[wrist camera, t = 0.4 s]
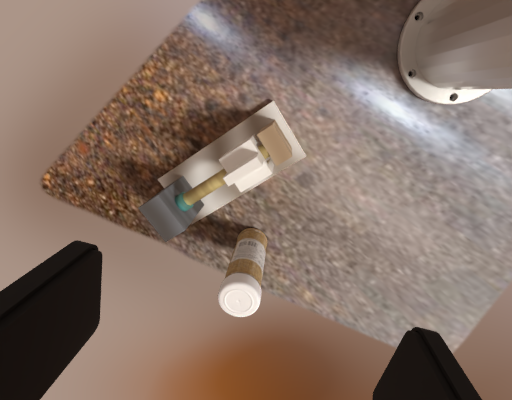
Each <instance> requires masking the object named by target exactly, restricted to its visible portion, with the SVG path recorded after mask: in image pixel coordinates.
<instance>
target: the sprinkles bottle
mask: <svg viewBox="0 0 512 400" xmlns="http://www.w3.org/2000/svg"><path fill="white" fill-rule="evenodd" d="M266 246H267V238H266V236H265V235H264V233H263V232H261V231H260V230H258V229H255V228H248V229H245V230H243V231H242V232H241V233H240V234H239V235H238V238H237V243H236V246H235V248H234V250H233V253H232V256H231V259H230V264H229V267H228V270H227V273H226V277H225V279H224V280H223V282H222V284H221V287H220V290H219V293H218V301H219V304H220V306H221V308H222V309H223V310H224V311H225V312H227V313H228V314H230V315H232V316H236V317H246V316H249V315H251V314H253V313H254V312H255V311H256V310H257V309H258V307H259V305H260V300H261V280H262V276H263V268H264V261H265V250H266Z"/></svg>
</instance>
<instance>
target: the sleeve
mask: <svg viewBox="0 0 512 400" xmlns="http://www.w3.org/2000/svg"><path fill="white" fill-rule="evenodd" d="M258 141H259V140H258V139H257V137H256V136H255V134H254V135H252V136H251V137H249V138H248V139H246V140H245V141H243V142H242V143H240V144H238V145H237V146H235V147H234V148H232V149H231V150H229V151H228V152H226V153H225V154H224V155H223V156H222V157H221V158H220V159H219V161H220V163H221V164H222V166H223V167H224V169H225V170H226V172H227V173H226V175H225V176H224V177H223V179H224V181H225V182H226V184H227V185H228V187H229V186H230V185H232V184H233V183H235V185H236V186H237V188H238V189H239V191H240V192H243V191H244V190H246V189H248V188H249V187H251V186H253V185H254V184H256V183H258V182H259V181H261V180H263V179H264V178H266V177H268V176H269V175H271V174H272V173H273V168H274V164H273V163H272V161H271V159H268V160H267V161H266V160H265V158H264V157H263V155H262V154H261V152H260V151H259V149H258V147H257V146H256V144H257V143H258Z"/></svg>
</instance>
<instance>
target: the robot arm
mask: <svg viewBox="0 0 512 400" xmlns="http://www.w3.org/2000/svg"><path fill="white" fill-rule="evenodd" d="M415 16H417V17H418V20H417V21H416V20H415ZM398 65H399V71H400V73H401V76H402V78H403V81H404V82H405V84H406V85H407V87H408V88H409V89H410V90H411V91H412V92H413V93H414V94H415V95H416V96H418V97H420V98H421V99H423V100H425V101H428V102H431V103H435V104H443V105H455V104H460V103H466V102H469V101H471V100H474V99H477V98H479V97H481V96H483V95H484V94H486V93H488V92H490V91H491V90H492V89H512V0H420V1H419V2H418V4H417V5H416V6H415V8H414V9H413V10H412V11H411V13H410V15H409V17H408V18H407V20H406V22H405V24H404V26H403V29H402V32H401V35H400V39H399V44H398ZM408 72H411V76H408ZM450 95H451V96H452V97H451V99H450V98H449V97H450ZM101 275H102V253H101V252H100V251H98V247H97V246H96V245H93V244H89V243H86V242H81V241H74V242H72V243H70V244H69V245H67V246H66V247H64V248H63V249H62V250H60V251H59V252H57V253H56V254H54V255H53V256H51V257H50V258H48V259H47V260H46V261H44V262H43V263H41V264H40V265H38V266H37V267H35V268H34V269H32V270H31V271H29V272H28V273H27V274H25V275H24V276H22V277H21V278H19V279H18V280H16V281H15V282H13V283H12V284H10V285H9V286H8V287H6V288H5V289H3V290H2V291H0V400H40V399H41V398H42V396H43V395H44V394H45V393H46V391H47V390H48V389H49V387H50V386H51V385H52V384H53V383H54V382H55V380H56V379H57V378H58V377H59V375H60V374H61V373H62V372H63V370H64V369H65V368H66V367H67V365H68V364H69V363H70V362H71V360H72V359H73V358H74V357H75V356H76V354H77V353H78V352H79V351H80V349H81V348H82V347H83V346H84V344H85V343H86V342H87V341H88V340H89V338H90V337H91V336H92V335H93V333H94V332H95V330H96V329H97V326H98V324H99V320H100V300H101ZM373 400H482V399H481V398H480V396H479V394H478V393H477V391H476V390H475V389H474V387H473V385H472V384H471V382H470V381H469V379H468V378H467V376H466V374H465V373H464V371H463V370H462V368H461V367H460V365H459V364H458V362H457V360H456V359H455V357H454V356H453V354H452V353H451V351H450V350H449V348H448V346H447V345H446V343H445V342H444V340H443V339H442V337H441V336H440V335H439V334H438V333H437V332H435V331H431V330H427V329H423V328H419V327H415V328H413V329H412V330H411V331H407V332H406V333H405V335H404V337H403V338H402V340H401V342H400V344H399V346H398V347H397V349H396V351H395V353H394V355H393V357H392V358H391V360H390V362H389V364H388V366H387V368H386V370H385V371H384V373H383V375H382V377H381V379H380V380H379V382H378V384H377V386H376V388H375V390H374V392H373Z"/></svg>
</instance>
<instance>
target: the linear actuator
mask: <svg viewBox="0 0 512 400" xmlns="http://www.w3.org/2000/svg"><path fill="white" fill-rule="evenodd" d="M254 134H255V136H256V137H257V139H258V140H259V141H258V143H257V144H256V146H257V147H258V149H259V151H260V152H261V154H262V155H263V157H264V158H265V160H266V161H267V160H268V159H271V161H272V163H273V164H274V168H273V173H272V174H271V175H269V176H268V177H266V178H264V179H263V180H261V181H259V182H258V183H256V184H254V185H253V186H251V187H249V188H248V189H246V190H244V191H243V192H240V191H239V189H238V188H237V186H236V185H235V183H233V184H232V185H230V186H229V187H228V185H227V184H226V182H225V181H224V179H223V177H224V176H225V175H226V173H227V172H226V170H225V169H224V167H223V166H222V164H221V163H220V161H219V159H220V158H221V157H222V156H223V155H224V154H225V153H226V152H228V151H229V150H231V149H232V148H234V147H235V146H237V145H238V144H240V143H242V142H243V141H245V140H246V139H248V138H249V137H251V136H252V135H254ZM304 157H306V154H305V152H304V151H303V149H302V147H301V146H300V144H299V142H298V141H297V139H296V137H295V136H294V134H293V132H292V131H291V129H290V127H289V126H288V124H287V122H286V120H285V119H284V117H283V115H282V114H281V112H280V110H279V109H278V107H277V105H276V104H275V102H274V101H272V102H271V103H269V104H268V105H266V106H265V107H263V108H262V109H260V110H259V111H258V112H256V113H255V114H253V115H252V116H250V117H249V118H247V119H246V120H244V121H243V122H241V123H240V124H238V125H237V126H235V127H234V128H232V129H231V130H230V131H228V132H227V133H225V134H224V135H222V136H221V137H219V138H218V139H216V140H215V141H213V142H212V143H210V144H209V145H207V146H206V147H204V148H203V149H202V150H200V151H199V152H197V153H196V154H194V155H193V156H191V157H190V158H188V159H187V160H185V161H184V162H182V163H181V164H179V165H178V166H176V167H175V168H174V169H172V170H171V171H169V172H168V173H166V174H165V175H163V176H162V177H160V178H159V179H157V180H158V181H159V182H160V183H161V185H162V186H163V187H164V189H163V190H161V191H160V192H159V193H157V194H156V195H155V196H154V197H152V198H151V199H150V200H148V201H147V202H146V203H144V204H143V205H142V206H140V207H139V210H140V211H141V212H142V213H143V215H144V216H145V217H146V218H147V220H148V221H149V222H150V223H151V225H152V226H153V227H154V228H155V230H156V231H157V232H158V233H159V235H160V236H161V237H162V238H163V240H164V241H165V242H167V241H168V240H170V239H172V238H173V237H175V236H177V235H178V234H180V233H182V232H183V231H185V230H186V229H187V227H188V226H189V225H190V223H191V224H194V223H195V222H197V221H199V220H200V219H202V218H204V217H205V216H207V215H209V214H210V213H212V212H214V211H215V210H217V209H219V208H220V207H222V206H224V205H225V204H227V203H229V202H230V201H232V200H234V199H235V198H237V197H239V196H241V195H242V194H244V193H246V192H247V191H249V190H251V189H252V188H254V187H256V186H257V185H259V184H261V183H262V182H264V181H266V180H267V179H269V178H271V177H272V176H274V175H276V174H277V173H279V172H281V171H282V170H284V169H286V168H288V167H289V166H291V165H293V164H294V163H296V162H298V161H299V160H301V159H303V158H304Z"/></svg>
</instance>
